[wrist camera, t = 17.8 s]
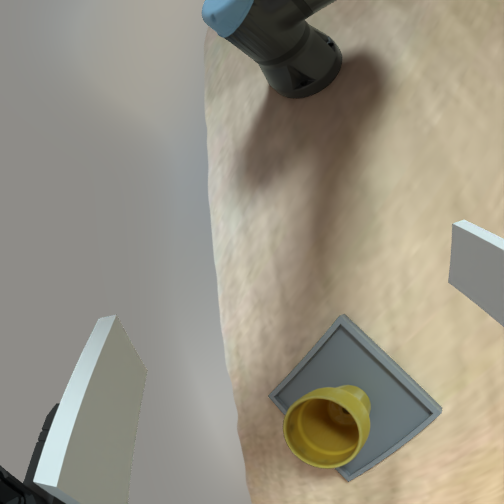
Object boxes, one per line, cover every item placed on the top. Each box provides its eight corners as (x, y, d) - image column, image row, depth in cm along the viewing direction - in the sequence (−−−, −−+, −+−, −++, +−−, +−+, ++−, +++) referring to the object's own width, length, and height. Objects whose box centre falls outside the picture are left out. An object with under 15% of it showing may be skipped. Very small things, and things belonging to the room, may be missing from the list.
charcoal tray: (274, 392, 45) (267, 396, 44) (344, 314, 39) (339, 315, 38) (352, 476, 34) (348, 481, 33) (442, 407, 29) (441, 413, 27)
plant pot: (388, 433, 32) (367, 469, 24) (323, 438, 37) (289, 468, 30) (378, 366, 34) (354, 389, 27) (311, 377, 40) (274, 397, 33)
